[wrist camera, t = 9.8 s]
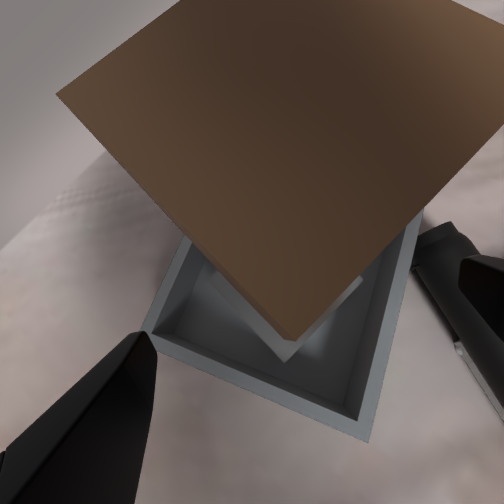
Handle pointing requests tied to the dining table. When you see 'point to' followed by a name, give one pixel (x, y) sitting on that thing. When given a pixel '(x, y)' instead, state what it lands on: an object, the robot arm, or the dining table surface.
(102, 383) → the robot arm
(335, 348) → the tray
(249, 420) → the dining table surface
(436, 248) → the door handle
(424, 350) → the dining table surface
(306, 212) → the wooden post on base
